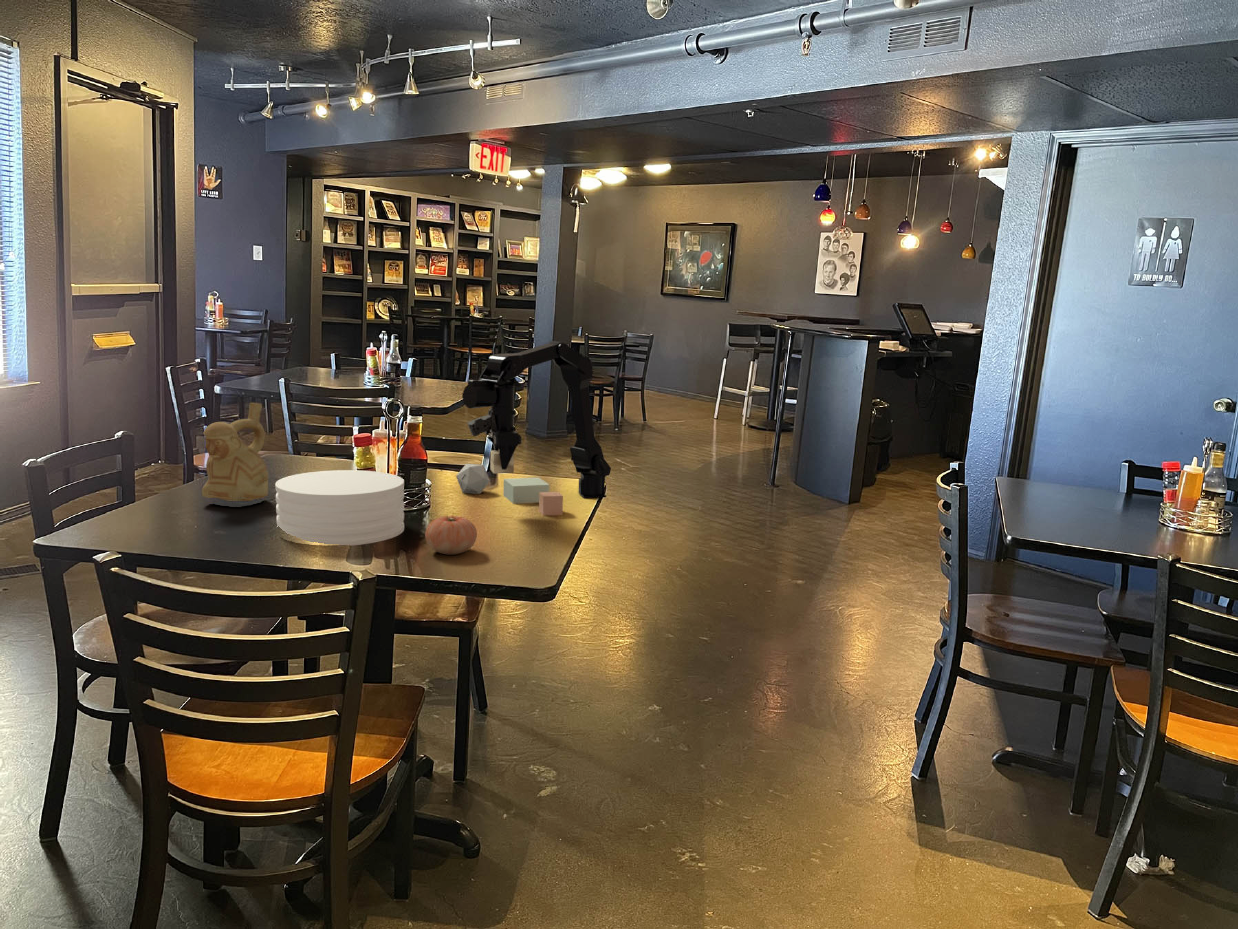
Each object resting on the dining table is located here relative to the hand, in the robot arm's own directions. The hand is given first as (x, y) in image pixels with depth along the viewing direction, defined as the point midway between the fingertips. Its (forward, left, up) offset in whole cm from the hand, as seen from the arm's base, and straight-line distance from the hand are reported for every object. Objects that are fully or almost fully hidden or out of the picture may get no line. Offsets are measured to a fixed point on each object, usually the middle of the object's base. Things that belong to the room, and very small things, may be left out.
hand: (502, 467), depth 230 cm
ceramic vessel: (+64, -20, -12) cm, 68 cm away
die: (+4, -25, -12) cm, 28 cm away
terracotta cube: (-12, +2, -12) cm, 17 cm away
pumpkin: (+17, +34, -12) cm, 40 cm away
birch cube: (0, 0, -1) cm, 1 cm away
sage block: (-9, -15, -12) cm, 21 cm away
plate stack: (+39, +11, -12) cm, 42 cm away
